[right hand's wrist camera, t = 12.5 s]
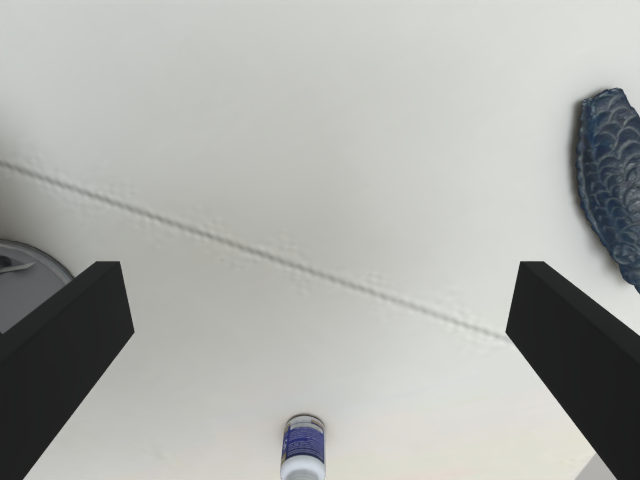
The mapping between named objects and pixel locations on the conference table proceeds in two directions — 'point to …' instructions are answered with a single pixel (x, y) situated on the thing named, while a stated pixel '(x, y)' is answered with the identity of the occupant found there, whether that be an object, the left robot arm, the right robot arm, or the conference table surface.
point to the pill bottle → (303, 450)
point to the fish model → (612, 177)
